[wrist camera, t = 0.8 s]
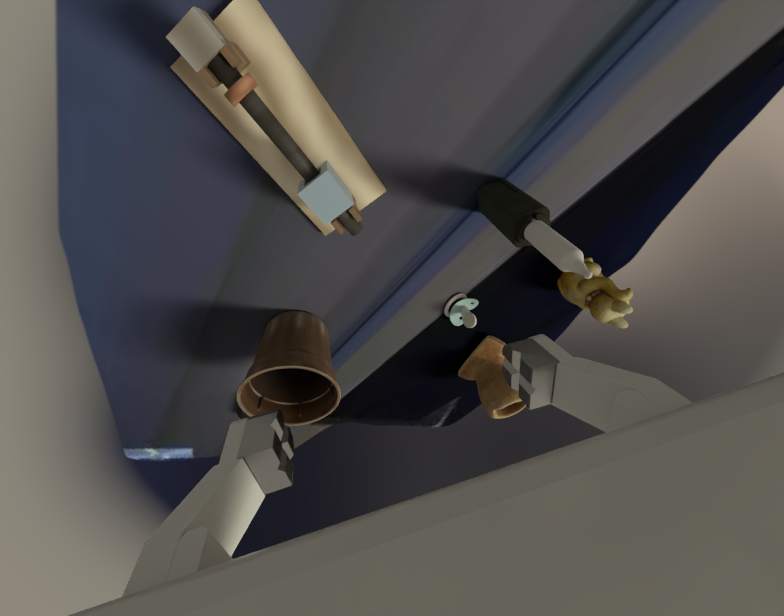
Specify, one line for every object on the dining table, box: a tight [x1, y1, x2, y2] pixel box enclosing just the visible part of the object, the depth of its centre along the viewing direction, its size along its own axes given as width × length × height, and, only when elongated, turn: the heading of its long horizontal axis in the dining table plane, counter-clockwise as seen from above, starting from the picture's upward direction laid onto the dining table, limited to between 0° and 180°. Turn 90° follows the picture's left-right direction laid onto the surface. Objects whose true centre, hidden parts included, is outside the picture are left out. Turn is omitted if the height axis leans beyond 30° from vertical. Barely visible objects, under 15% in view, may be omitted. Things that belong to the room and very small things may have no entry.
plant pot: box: [237, 311, 341, 426], centre depth 58 cm, size 16×16×16 cm
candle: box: [477, 178, 593, 279], centre depth 43 cm, size 5×5×25 cm
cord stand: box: [166, 0, 386, 236], centre depth 39 cm, size 12×26×10 cm, turn 33°
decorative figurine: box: [557, 257, 633, 328], centre depth 61 cm, size 10×8×15 cm
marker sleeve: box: [297, 160, 354, 226], centre depth 40 cm, size 5×5×5 cm
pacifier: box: [444, 293, 479, 328], centre depth 65 cm, size 7×6×6 cm
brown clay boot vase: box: [458, 336, 526, 419], centre depth 74 cm, size 15×12×15 cm
